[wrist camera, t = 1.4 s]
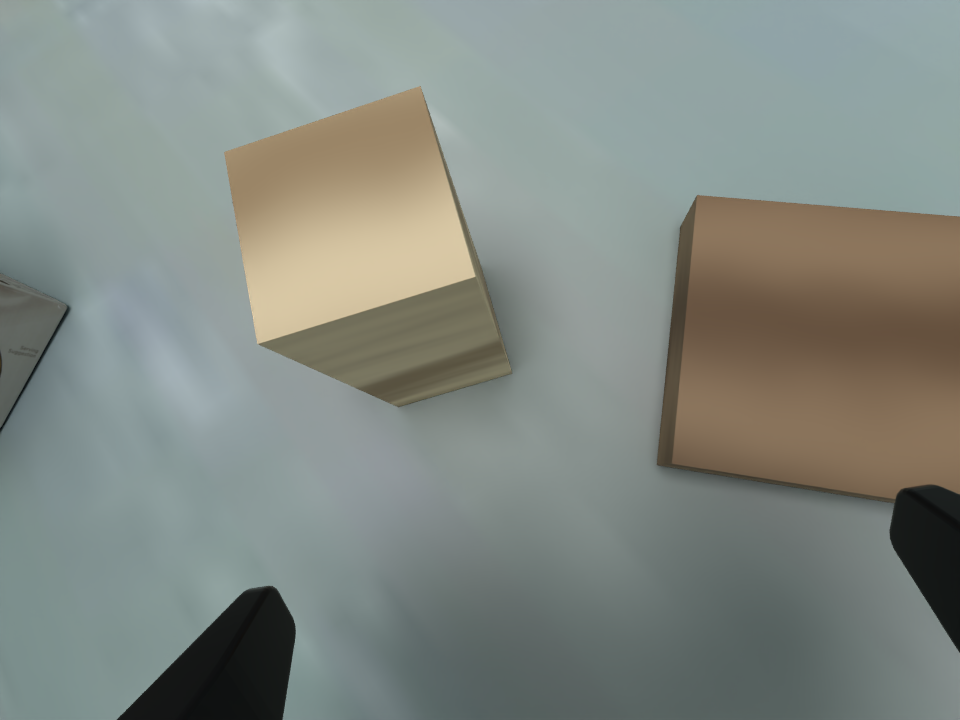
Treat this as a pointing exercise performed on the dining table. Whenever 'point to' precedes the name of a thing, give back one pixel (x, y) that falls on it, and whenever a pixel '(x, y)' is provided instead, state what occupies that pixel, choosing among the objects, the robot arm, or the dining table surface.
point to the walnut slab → (815, 347)
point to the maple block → (365, 254)
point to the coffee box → (22, 335)
